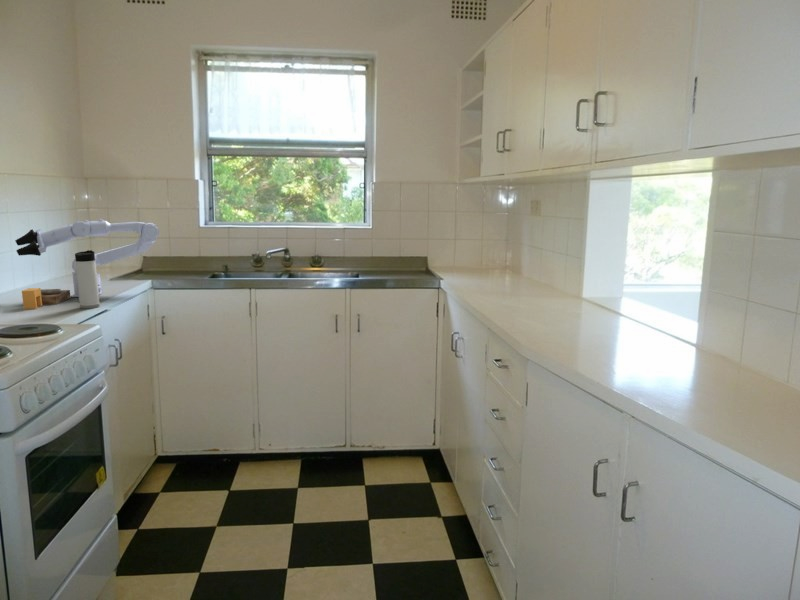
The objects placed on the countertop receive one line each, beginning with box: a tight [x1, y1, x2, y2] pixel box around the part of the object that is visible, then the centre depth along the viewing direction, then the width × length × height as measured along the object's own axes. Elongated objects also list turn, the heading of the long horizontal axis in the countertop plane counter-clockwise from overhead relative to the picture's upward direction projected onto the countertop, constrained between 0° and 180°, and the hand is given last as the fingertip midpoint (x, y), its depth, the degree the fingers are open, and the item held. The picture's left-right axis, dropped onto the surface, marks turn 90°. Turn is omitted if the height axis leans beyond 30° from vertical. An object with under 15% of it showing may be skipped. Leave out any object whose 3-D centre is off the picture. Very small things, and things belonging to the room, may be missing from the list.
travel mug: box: [74, 249, 101, 310], centre depth 216 cm, size 6×7×20 cm
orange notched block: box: [21, 287, 43, 310], centre depth 217 cm, size 4×5×6 cm
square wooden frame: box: [40, 288, 72, 306], centre depth 229 cm, size 11×14×5 cm
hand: (17, 247), depth 229 cm, fingers open, 7 cm apart
